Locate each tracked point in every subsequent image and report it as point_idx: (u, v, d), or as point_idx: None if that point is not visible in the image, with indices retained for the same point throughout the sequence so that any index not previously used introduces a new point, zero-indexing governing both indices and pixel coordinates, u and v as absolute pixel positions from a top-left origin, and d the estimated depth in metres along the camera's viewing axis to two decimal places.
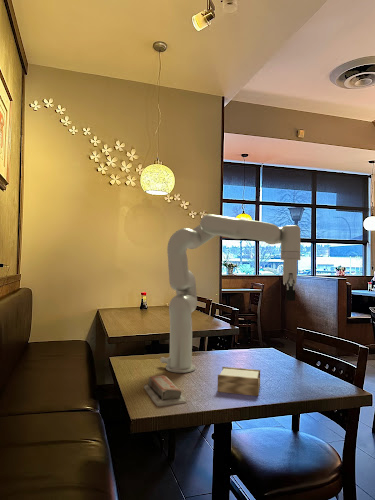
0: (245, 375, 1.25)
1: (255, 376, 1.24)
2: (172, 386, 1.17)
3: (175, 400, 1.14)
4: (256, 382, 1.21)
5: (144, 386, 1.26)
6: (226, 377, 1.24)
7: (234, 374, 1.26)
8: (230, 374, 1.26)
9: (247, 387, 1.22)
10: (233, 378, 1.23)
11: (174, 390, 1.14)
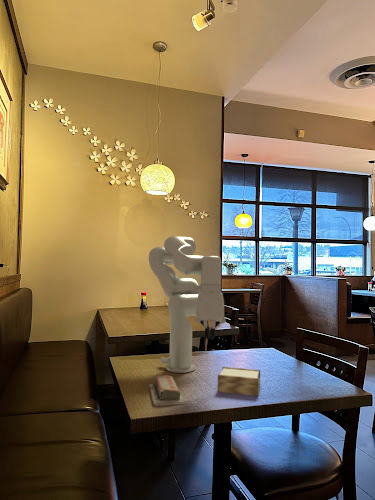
0: (245, 375, 1.25)
1: (255, 376, 1.24)
2: (172, 387, 1.17)
3: (173, 401, 1.13)
4: (256, 382, 1.21)
5: (149, 385, 1.27)
6: (226, 377, 1.24)
7: (234, 374, 1.26)
8: (230, 374, 1.26)
9: (247, 387, 1.22)
10: (233, 378, 1.23)
11: (172, 391, 1.14)
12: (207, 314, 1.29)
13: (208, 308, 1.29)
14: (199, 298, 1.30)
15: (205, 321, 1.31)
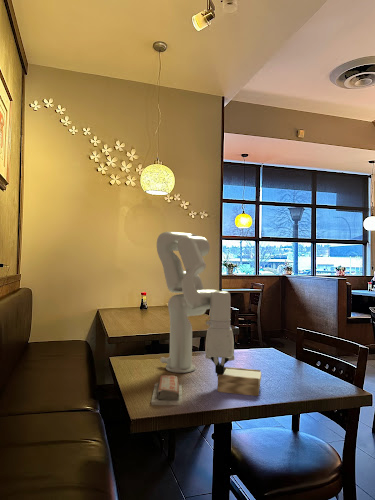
0: (248, 375, 1.25)
1: (258, 376, 1.24)
2: (172, 387, 1.16)
3: (171, 401, 1.12)
4: (256, 382, 1.21)
5: None
6: (226, 377, 1.24)
7: (237, 374, 1.26)
8: (233, 374, 1.26)
9: (247, 387, 1.22)
10: (233, 378, 1.23)
11: (170, 391, 1.13)
12: (217, 351, 1.27)
13: (218, 345, 1.27)
14: (208, 334, 1.29)
15: (215, 358, 1.29)
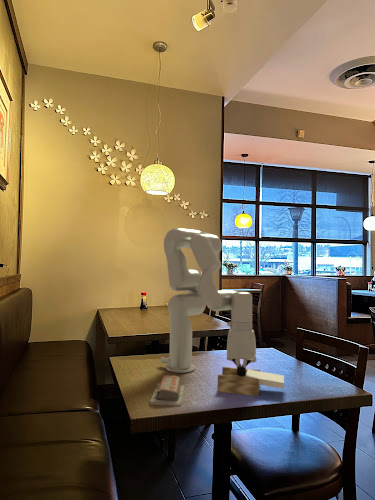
0: (271, 378, 1.23)
1: (281, 380, 1.22)
2: (172, 387, 1.16)
3: (170, 401, 1.12)
4: (256, 382, 1.21)
5: (157, 384, 1.28)
6: (226, 377, 1.24)
7: (260, 376, 1.24)
8: (256, 376, 1.24)
9: (247, 387, 1.22)
10: (233, 378, 1.23)
11: (170, 391, 1.13)
12: (238, 352, 1.25)
13: (240, 347, 1.25)
14: (230, 336, 1.27)
15: (237, 359, 1.27)
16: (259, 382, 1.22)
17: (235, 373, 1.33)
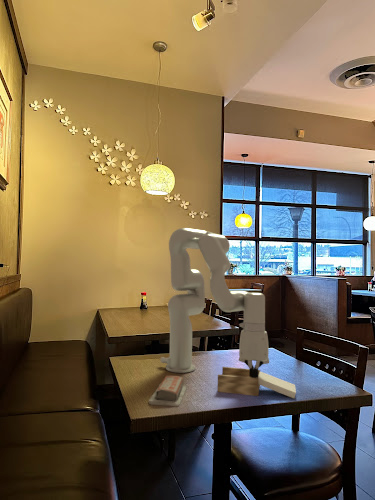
0: (283, 386, 1.22)
1: (293, 390, 1.21)
2: (171, 387, 1.16)
3: (169, 401, 1.12)
4: (256, 382, 1.21)
5: (160, 384, 1.28)
6: (226, 377, 1.24)
7: (272, 381, 1.23)
8: (268, 380, 1.23)
9: (247, 387, 1.22)
10: (233, 378, 1.23)
11: (169, 391, 1.13)
12: (251, 354, 1.24)
13: (252, 348, 1.24)
14: (243, 337, 1.26)
15: (250, 361, 1.26)
16: (271, 387, 1.21)
17: (235, 373, 1.33)
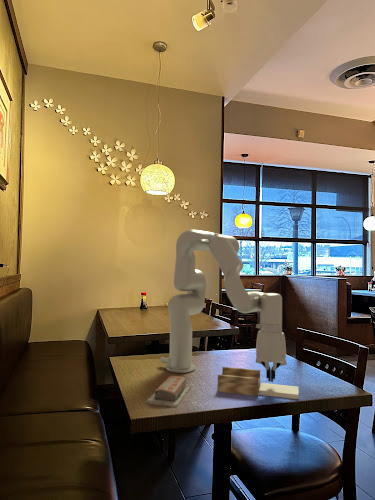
0: (285, 391, 1.21)
1: (296, 392, 1.20)
2: (171, 388, 1.16)
3: (167, 402, 1.12)
4: (256, 382, 1.21)
5: None
6: (226, 377, 1.24)
7: (274, 389, 1.23)
8: (270, 389, 1.22)
9: (247, 387, 1.22)
10: (233, 378, 1.23)
11: (167, 391, 1.13)
12: (269, 355, 1.23)
13: (270, 349, 1.23)
14: (260, 338, 1.24)
15: (267, 362, 1.24)
16: (273, 395, 1.21)
17: (235, 373, 1.33)
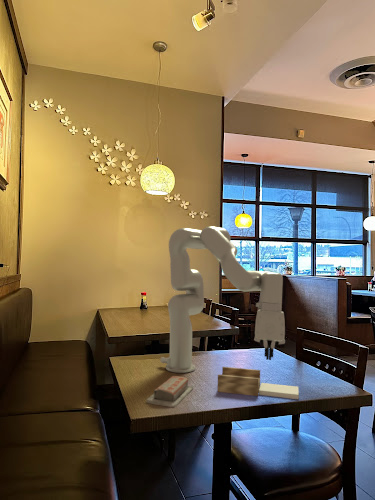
0: (285, 391, 1.21)
1: (296, 392, 1.20)
2: (171, 388, 1.15)
3: (165, 402, 1.12)
4: (256, 382, 1.21)
5: None
6: (226, 377, 1.24)
7: (274, 389, 1.23)
8: (270, 389, 1.22)
9: (247, 387, 1.22)
10: (233, 378, 1.23)
11: (166, 392, 1.13)
12: (267, 333, 1.23)
13: (269, 328, 1.23)
14: (259, 317, 1.25)
15: (265, 341, 1.25)
16: (273, 395, 1.21)
17: (235, 373, 1.33)
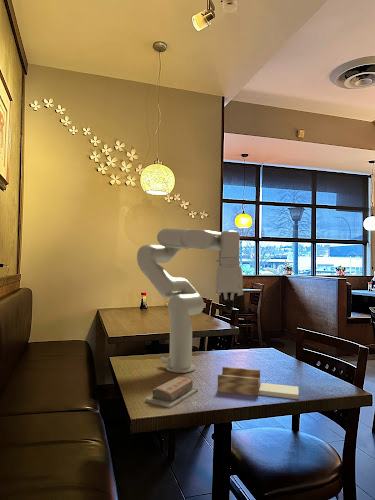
0: (285, 391, 1.21)
1: (296, 392, 1.20)
2: (170, 388, 1.15)
3: (163, 402, 1.12)
4: (256, 382, 1.21)
5: None
6: (226, 377, 1.24)
7: (274, 389, 1.23)
8: (270, 389, 1.22)
9: (247, 387, 1.22)
10: (233, 378, 1.23)
11: (163, 392, 1.13)
12: (226, 286, 1.35)
13: (227, 280, 1.35)
14: (219, 271, 1.36)
15: (225, 293, 1.36)
16: (273, 395, 1.21)
17: (235, 373, 1.33)
